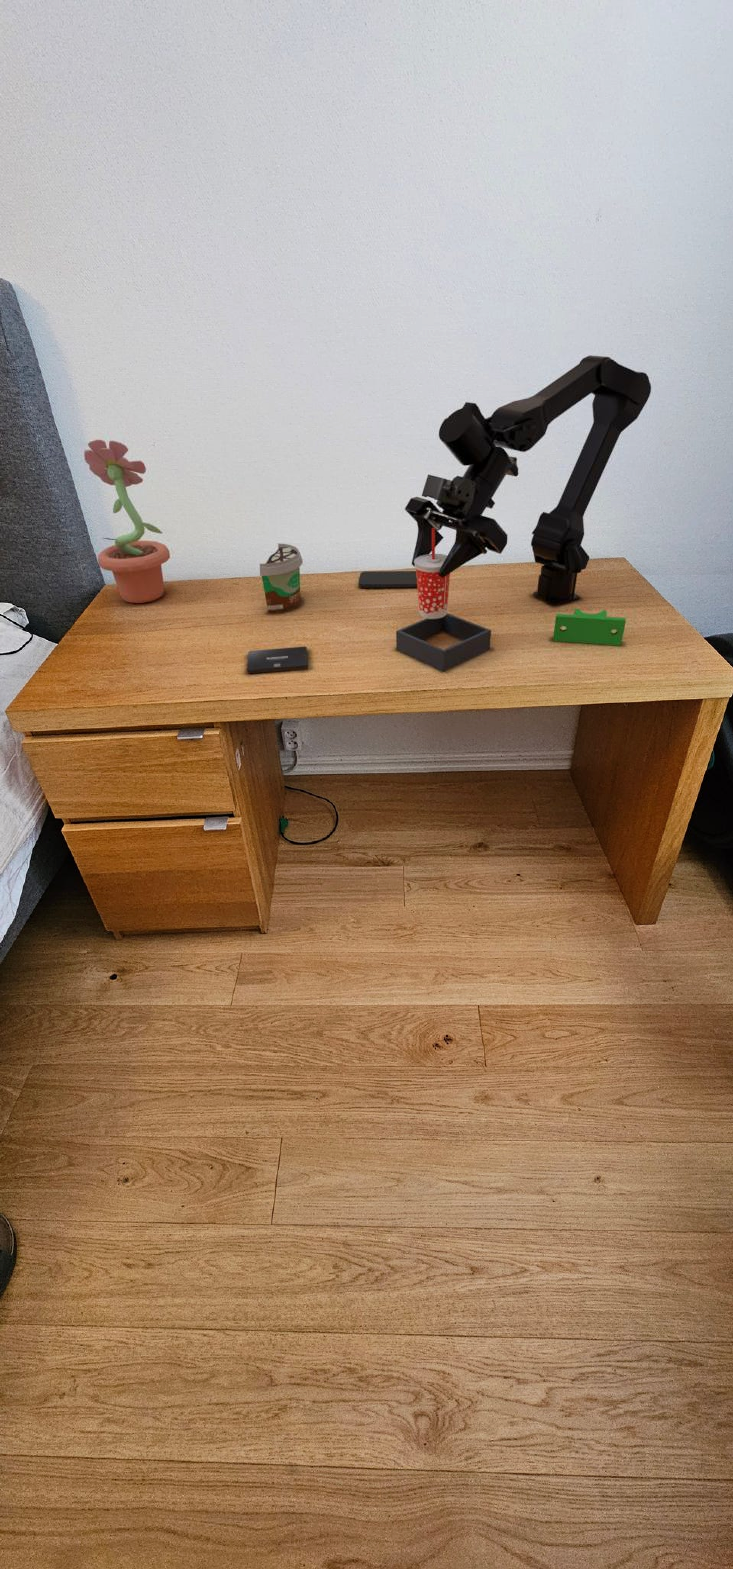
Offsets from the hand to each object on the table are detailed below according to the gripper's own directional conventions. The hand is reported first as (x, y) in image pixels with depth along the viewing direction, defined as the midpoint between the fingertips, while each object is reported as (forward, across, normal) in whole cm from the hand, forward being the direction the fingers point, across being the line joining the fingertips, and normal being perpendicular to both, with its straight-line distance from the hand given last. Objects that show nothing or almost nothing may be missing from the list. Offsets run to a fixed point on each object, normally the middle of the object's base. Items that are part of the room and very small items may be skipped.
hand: (426, 571), depth 111 cm
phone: (-1, -27, +20) cm, 33 cm away
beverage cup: (+4, 0, +6) cm, 8 cm away
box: (+8, +3, +10) cm, 14 cm away
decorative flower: (+28, -56, -10) cm, 64 cm away
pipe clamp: (-6, +16, +25) cm, 31 cm away
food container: (+15, -32, +4) cm, 35 cm away
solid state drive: (+25, -12, -7) cm, 29 cm away
